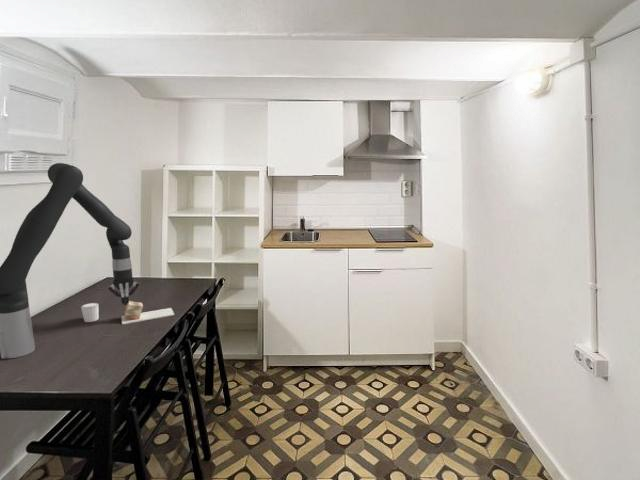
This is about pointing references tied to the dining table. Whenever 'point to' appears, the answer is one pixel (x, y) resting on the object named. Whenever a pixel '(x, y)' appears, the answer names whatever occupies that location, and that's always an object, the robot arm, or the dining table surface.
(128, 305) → the maple cube
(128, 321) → the mat
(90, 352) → the dining table surface
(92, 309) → the white cup
